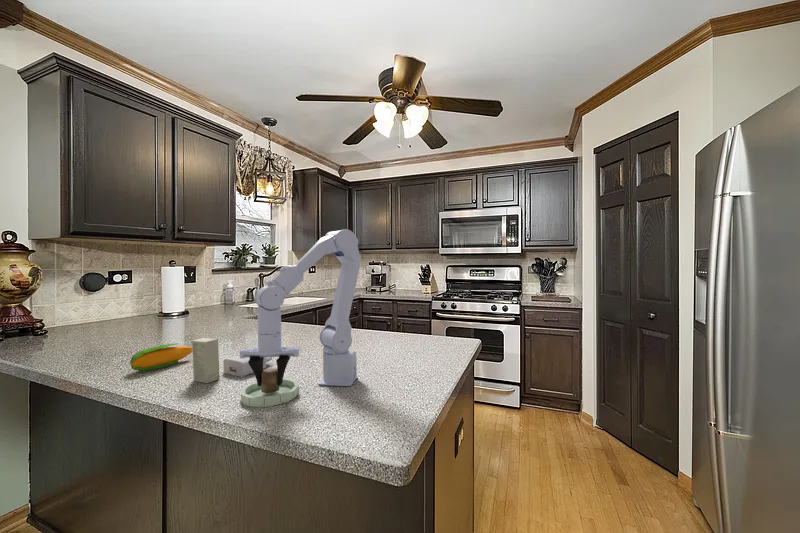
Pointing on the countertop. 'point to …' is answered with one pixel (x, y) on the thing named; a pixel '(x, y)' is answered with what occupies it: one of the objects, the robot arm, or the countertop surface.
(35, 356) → the countertop surface
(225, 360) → the charger
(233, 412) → the countertop surface
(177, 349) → the corn
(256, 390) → the round tray
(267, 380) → the walnut bead
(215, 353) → the skincare box
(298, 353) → the robot arm
